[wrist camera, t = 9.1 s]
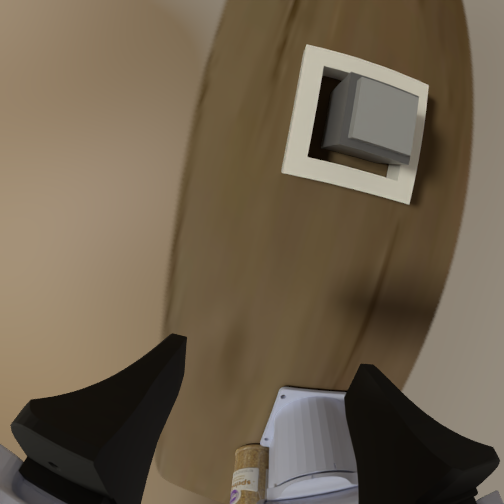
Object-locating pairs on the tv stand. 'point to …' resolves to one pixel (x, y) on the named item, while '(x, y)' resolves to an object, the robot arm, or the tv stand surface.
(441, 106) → the tv stand surface
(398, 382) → the tv stand surface
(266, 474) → the sprinkles bottle
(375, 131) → the stepped grey plug block
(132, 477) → the robot arm
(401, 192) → the socket block
